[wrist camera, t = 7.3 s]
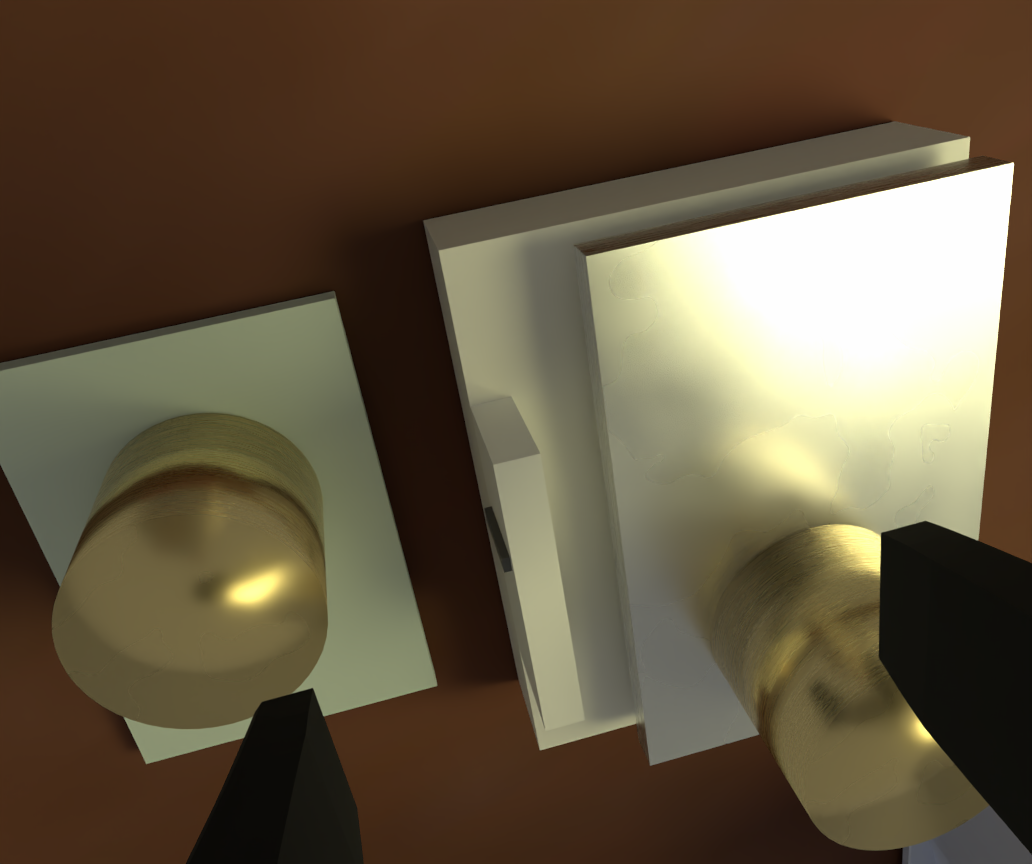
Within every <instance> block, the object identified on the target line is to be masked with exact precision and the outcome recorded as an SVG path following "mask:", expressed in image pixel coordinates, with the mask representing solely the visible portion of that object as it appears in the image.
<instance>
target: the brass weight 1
mask: <svg viewBox="0 0 1032 864" xmlns="http://www.w3.org/2000/svg"><path fill="white" fill-rule="evenodd" d="M327 629H328V611H327V588H326V565H325V542H324V520H323V497H322V492H321V487H320V484H319V481H318V478H317V475H316V473H315V471H314V469H313V468H312V466H311V464H310V462H309V461H308V460H307V458H306V457H305V456H304V454H303V453H302V452H301V451H300V450H299V449H298V448H297V447H296V446H295V445H294V444H293V443H292V442H291V441H290V440H288V439H287V438H286V437H285V436H283V435H282V434H280V433H279V432H277V431H275V430H274V429H272V428H270V427H268V426H266V425H264V424H262V423H259V422H257V421H254V420H251V419H248V418H245V417H241V416H236V415H230V414H222V413H196V414H190V415H183V416H179V417H175V418H172V419H168V420H165V421H163V422H161V423H158V424H156V425H153V426H152V427H150V428H148V429H146V430H145V431H143V432H141V433H140V434H138V435H137V436H136V437H135V438H133V439H132V440H131V441H129V442H128V443H127V444H126V445H125V446H124V447H123V448H122V449H121V450H120V452H119V453H118V454H117V456H116V457H115V459H114V460H113V461H112V463H111V465H110V467H109V469H108V471H107V473H106V475H105V477H104V480H103V482H102V485H101V487H100V490H99V492H98V495H97V497H96V500H95V502H94V505H93V507H92V509H91V512H90V514H89V517H88V519H87V522H86V524H85V527H84V529H83V532H82V534H81V537H80V539H79V542H78V544H77V547H76V549H75V551H74V554H73V556H72V559H71V561H70V564H69V566H68V569H67V571H66V574H65V576H64V579H63V581H62V584H61V586H60V589H59V591H58V594H57V597H56V600H55V603H54V608H53V614H52V636H53V640H54V645H55V649H56V652H57V654H58V657H59V659H60V662H61V664H62V665H63V667H64V669H65V670H66V672H67V674H68V675H69V676H70V678H71V679H72V680H73V681H74V682H75V684H76V685H77V686H78V687H79V688H80V689H81V690H82V691H83V692H84V693H85V694H87V695H88V696H89V697H90V698H91V699H93V700H94V701H96V702H97V703H98V704H100V705H101V706H103V707H105V708H107V709H108V710H110V711H112V712H114V713H116V714H118V715H120V716H123V717H125V718H128V719H130V720H133V721H137V722H140V723H144V724H147V725H152V726H157V727H163V728H173V729H203V728H213V727H219V726H224V725H229V724H233V723H236V722H239V721H243V720H246V719H249V718H251V717H253V715H254V713H255V711H256V710H257V708H258V707H259V705H260V704H261V702H263V701H267V700H270V699H274V698H278V697H281V696H285V695H289V694H292V693H293V692H294V691H295V690H296V689H297V688H298V687H299V686H300V685H301V684H302V683H303V682H304V681H305V680H306V678H307V677H308V676H309V675H310V673H311V672H312V670H313V669H314V667H315V666H316V664H317V662H318V660H319V658H320V656H321V653H322V651H323V648H324V645H325V641H326V638H327Z"/></svg>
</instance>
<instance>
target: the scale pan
mask: <svg viewBox="0 0 1032 864" xmlns="http://www.w3.org/2000/svg"><path fill="white" fill-rule="evenodd" d="M1013 167H1014V163H1013V162H1008V161H1004V160H1000V159H995V158H991V157H987V156H979V157H974V158H970V159H965V160H960V161H956V162H951V163H947V164H942V165H937V166H933V167H928V168H923V169H919V170H914V171H910V172H905V173H900V174H896V175H891V176H887V177H882V178H877V179H873V180H868V181H863V182H859V183H854V184H850V185H845V186H840V187H836V188H831V189H827V190H822V191H817V192H813V193H808V194H803V195H799V196H794V197H790V198H785V199H780V200H776V201H771V202H767V203H762V204H757V205H753V206H748V207H744V208H739V209H734V210H730V211H725V212H720V213H716V214H711V215H707V216H702V217H697V218H693V219H688V220H684V221H679V222H674V223H670V224H665V225H660V226H656V227H651V228H647V229H642V230H637V231H633V232H628V233H624V234H619V235H614V236H610V237H605V238H600V239H596V240H591V241H587V242H582V243H577V244H573V248H574V255H575V263H576V271H577V278H578V286H579V293H580V301H581V308H582V316H583V324H584V331H585V339H586V346H587V354H588V361H589V369H590V377H591V384H592V392H593V399H594V407H595V414H596V422H597V430H598V437H599V445H600V452H601V460H602V467H603V475H604V483H605V490H606V498H607V505H608V513H609V520H610V528H611V536H612V543H613V551H614V558H615V566H616V573H617V581H618V589H619V596H620V604H621V611H622V619H623V626H624V634H625V642H626V649H627V657H628V664H629V672H630V679H631V687H632V695H633V702H634V710H635V717H636V725H637V732H638V740H639V742H640V744H641V746H642V749H643V751H644V753H645V755H646V758H647V760H648V762H649V764H650V766H651V765H654V764H658V763H661V762H665V761H668V760H672V759H675V758H679V757H682V756H686V755H689V754H693V753H696V752H700V751H703V750H707V749H710V748H714V747H717V746H721V745H724V744H728V743H731V742H735V741H738V740H742V739H745V738H749V737H752V736H756V735H759V733H758V731H757V730H756V728H755V726H754V725H753V723H752V721H751V720H750V718H749V716H748V715H747V713H746V712H745V710H744V708H743V707H742V705H741V703H740V702H739V700H738V698H737V697H736V695H735V694H734V692H733V690H732V689H731V687H730V685H729V684H728V682H727V680H726V679H725V677H724V675H723V674H722V672H721V671H720V669H719V667H718V665H717V663H716V661H715V658H714V655H713V652H712V646H711V627H712V621H713V617H714V614H715V610H716V607H717V605H718V603H719V601H720V598H721V596H722V594H723V593H724V591H725V590H726V588H727V586H728V585H729V583H730V582H731V581H732V579H733V578H734V577H735V575H736V574H737V573H738V572H739V571H740V570H741V569H742V568H743V567H744V566H745V565H746V564H747V563H748V562H749V561H750V560H751V559H752V558H753V557H755V556H756V555H757V554H758V553H760V552H761V551H762V550H764V549H765V548H767V547H768V546H770V545H771V544H773V543H775V542H777V541H778V540H780V539H782V538H784V537H786V536H789V535H791V534H793V533H796V532H799V531H802V530H805V529H808V528H812V527H817V526H822V525H834V524H841V525H852V526H857V527H862V528H865V529H868V530H870V531H873V532H875V533H876V534H878V535H880V536H881V533H882V532H886V531H889V530H893V529H897V528H900V527H904V526H908V525H911V524H915V523H919V522H922V521H928V522H931V523H934V524H937V525H939V526H942V527H945V528H947V529H950V530H953V531H955V532H958V533H960V534H963V535H965V536H968V537H970V538H972V539H975V540H977V541H978V537H979V527H980V516H981V506H982V495H983V485H984V474H985V463H986V453H987V442H988V432H989V421H990V411H991V400H992V389H993V379H994V368H995V358H996V347H997V337H998V326H999V315H1000V305H1001V294H1002V284H1003V273H1004V263H1005V252H1006V241H1007V231H1008V220H1009V210H1010V199H1011V189H1012V178H1013Z"/></svg>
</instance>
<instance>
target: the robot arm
mask: <svg viewBox="0 0 1032 864" xmlns="http://www.w3.org/2000/svg"><path fill="white" fill-rule="evenodd" d="M879 659H880V661H881V662H882V664H883V665H884V667H885V669H886V670H887V672H888V673H889V675H890V677H891V678H892V680H893V681H894V683H895V685H896V686H897V688H898V689H899V691H900V692H901V694H902V696H903V697H904V699H905V700H906V702H907V703H908V705H909V706H910V707H911V709H912V710H913V712H914V713H915V715H916V716H917V718H918V719H919V721H920V722H921V724H922V725H923V727H924V728H925V729H926V730H927V732H928V733H929V734H930V735H931V737H932V738H933V739H934V740H935V741H936V743H937V744H938V745H939V746H940V747H941V749H942V750H943V751H944V752H945V753H946V755H947V756H948V757H949V758H950V759H951V761H952V762H953V763H954V764H955V765H956V766H957V768H958V769H959V770H960V771H961V772H962V774H963V775H964V776H965V777H966V778H967V780H968V781H969V782H970V783H971V784H972V785H973V787H974V788H975V789H976V790H977V791H978V793H979V794H980V795H981V796H982V797H983V798H984V800H985V801H986V802H987V803H988V804H989V806H988V807H986V808H985V809H984V810H982V811H981V812H980V813H979V814H977V815H976V816H974V817H973V818H971V819H970V820H968V821H967V822H965V823H964V824H962V825H960V826H958V827H956V828H955V829H953V830H951V831H949V832H947V833H945V834H943V835H940V836H938V837H936V838H934V839H931V840H928V841H925V842H922V843H919V844H916V845H912V846H908V847H904V848H903V857H902V864H1032V563H1030V562H1027V561H1025V560H1023V559H1020V558H1018V557H1015V556H1013V555H1011V554H1008V553H1006V552H1004V551H1001V550H999V549H996V548H994V547H992V546H989V545H987V544H984V543H982V542H980V541H977V540H975V539H972V538H970V537H968V536H965V535H963V534H960V533H958V532H955V531H953V530H950V529H947V528H945V527H942V526H939V525H937V524H934V523H931V522H928V521H922V522H919V523H915V524H911V525H908V526H904V527H900V528H897V529H893V530H889V531H886V532H882V533H881V551H880V607H879ZM186 864H364V863H363V854H362V845H361V837H360V828H359V820H358V812H357V806H356V804H355V801H354V798H353V795H352V793H351V790H350V787H349V785H348V782H347V779H346V776H345V774H344V771H343V768H342V765H341V763H340V760H339V757H338V755H337V752H336V749H335V746H334V744H333V741H332V738H331V735H330V733H329V730H328V727H327V724H326V722H325V719H324V716H323V714H322V711H321V708H320V705H319V703H318V700H317V697H316V694H315V692H314V689H313V688H311V689H307V690H303V691H300V692H296V693H292V694H289V695H285V696H281V697H278V698H274V699H270V700H267V701H263V702H261V704H260V705H259V707H258V708H257V710H256V711H255V713H254V715H253V718H252V720H251V723H250V725H249V727H248V730H247V732H246V735H245V737H244V739H243V742H242V744H241V746H240V749H239V751H238V754H237V756H236V758H235V760H234V763H233V765H232V767H231V770H230V772H229V774H228V776H227V779H226V781H225V783H224V785H223V787H222V790H221V792H220V794H219V796H218V798H217V801H216V803H215V805H214V807H213V809H212V811H211V813H210V815H209V817H208V819H207V822H206V824H205V826H204V828H203V830H202V832H201V834H200V836H199V838H198V840H197V842H196V844H195V846H194V848H193V850H192V852H191V854H190V856H189V858H188V861H187V863H186Z"/></svg>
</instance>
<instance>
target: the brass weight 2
mask: <svg viewBox="0 0 1032 864" xmlns="http://www.w3.org/2000/svg"><path fill="white" fill-rule="evenodd" d="M880 551H881V536H880V535H878V534H876V533H875V532H873V531H870V530H868V529H865V528H862V527H857V526H852V525H841V524H834V525H822V526H817V527H812V528H808V529H805V530H802V531H799V532H796V533H793V534H791V535H789V536H786V537H784V538H782V539H780V540H778V541H777V542H775V543H773V544H771V545H770V546H768V547H767V548H765V549H764V550H762V551H761V552H760V553H758V554H757V555H756V556H755V557H753V558H752V559H751V560H750V561H749V562H748V563H747V564H746V565H745V566H744V567H743V568H742V569H741V570H740V571H739V572H738V573H737V574H736V575H735V577H734V578H733V579H732V581H731V582H730V583H729V585H728V586H727V588H726V590H725V591H724V593H723V594H722V596H721V598H720V601H719V603H718V605H717V607H716V610H715V614H714V617H713V621H712V627H711V646H712V652H713V655H714V658H715V661H716V663H717V665H718V667H719V669H720V671H721V672H722V674H723V675H724V677H725V679H726V680H727V682H728V684H729V685H730V687H731V689H732V690H733V692H734V694H735V695H736V697H737V698H738V700H739V702H740V703H741V705H742V707H743V708H744V710H745V712H746V713H747V715H748V716H749V718H750V720H751V721H752V723H753V725H754V726H755V728H756V730H757V731H758V733H759V735H760V736H761V738H762V739H763V741H764V743H765V744H766V746H767V748H768V749H769V751H770V753H771V754H772V756H773V757H774V759H775V761H776V762H777V764H778V766H779V767H780V769H781V771H782V772H783V774H784V776H785V777H786V779H787V780H788V782H789V784H790V785H791V787H792V789H793V790H794V792H795V794H796V795H797V797H798V798H799V800H800V802H801V803H802V805H803V807H804V808H805V810H806V812H807V813H808V815H809V817H810V818H811V820H812V821H813V823H814V824H815V826H816V827H817V828H818V829H819V830H820V832H822V833H823V834H824V835H825V836H827V837H828V838H829V839H831V840H833V841H835V842H837V843H838V844H841V845H844V846H847V847H850V848H855V849H860V850H873V851H878V850H892V849H898V848H904V847H908V846H912V845H916V844H919V843H922V842H925V841H928V840H931V839H934V838H936V837H938V836H940V835H943V834H945V833H947V832H949V831H951V830H953V829H955V828H956V827H958V826H960V825H962V824H964V823H965V822H967V821H968V820H970V819H971V818H973V817H974V816H976V815H977V814H979V813H980V812H981V811H982V810H984V809H985V808H986V807H988V806H989V804H988V803H987V802H986V801H985V800H984V798H983V797H982V796H981V795H980V794H979V793H978V791H977V790H976V789H975V788H974V787H973V785H972V784H971V783H970V782H969V781H968V780H967V778H966V777H965V776H964V775H963V774H962V772H961V771H960V770H959V769H958V768H957V766H956V765H955V764H954V763H953V762H952V761H951V759H950V758H949V757H948V756H947V755H946V753H945V752H944V751H943V750H942V749H941V747H940V746H939V745H938V744H937V743H936V741H935V740H934V739H933V738H932V737H931V735H930V734H929V733H928V732H927V730H926V729H925V728H924V727H923V725H922V724H921V722H920V721H919V719H918V718H917V716H916V715H915V713H914V712H913V710H912V709H911V707H910V706H909V705H908V703H907V702H906V700H905V699H904V697H903V696H902V694H901V692H900V691H899V689H898V688H897V686H896V685H895V683H894V681H893V680H892V678H891V677H890V675H889V673H888V672H887V670H886V669H885V667H884V665H883V664H882V662H881V661H880V659H879V607H880Z"/></svg>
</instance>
